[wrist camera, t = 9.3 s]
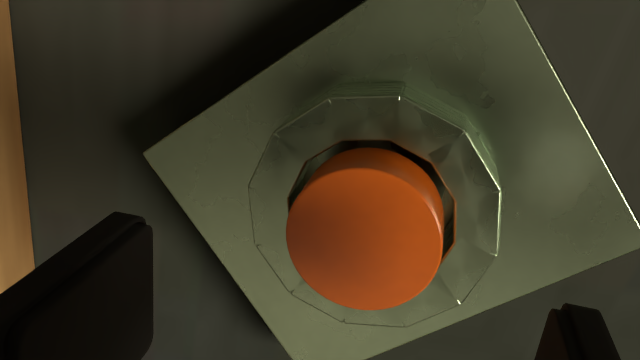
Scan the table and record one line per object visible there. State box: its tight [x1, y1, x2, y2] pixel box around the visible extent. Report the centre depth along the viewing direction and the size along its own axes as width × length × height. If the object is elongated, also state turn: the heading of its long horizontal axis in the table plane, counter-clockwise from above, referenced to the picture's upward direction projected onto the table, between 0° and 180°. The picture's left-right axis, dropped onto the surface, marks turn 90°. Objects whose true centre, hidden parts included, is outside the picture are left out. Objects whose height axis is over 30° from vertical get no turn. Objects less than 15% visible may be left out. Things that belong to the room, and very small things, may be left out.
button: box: [286, 147, 444, 310], centre depth 15 cm, size 4×4×2 cm
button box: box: [143, 0, 640, 360], centre depth 17 cm, size 12×10×4 cm
